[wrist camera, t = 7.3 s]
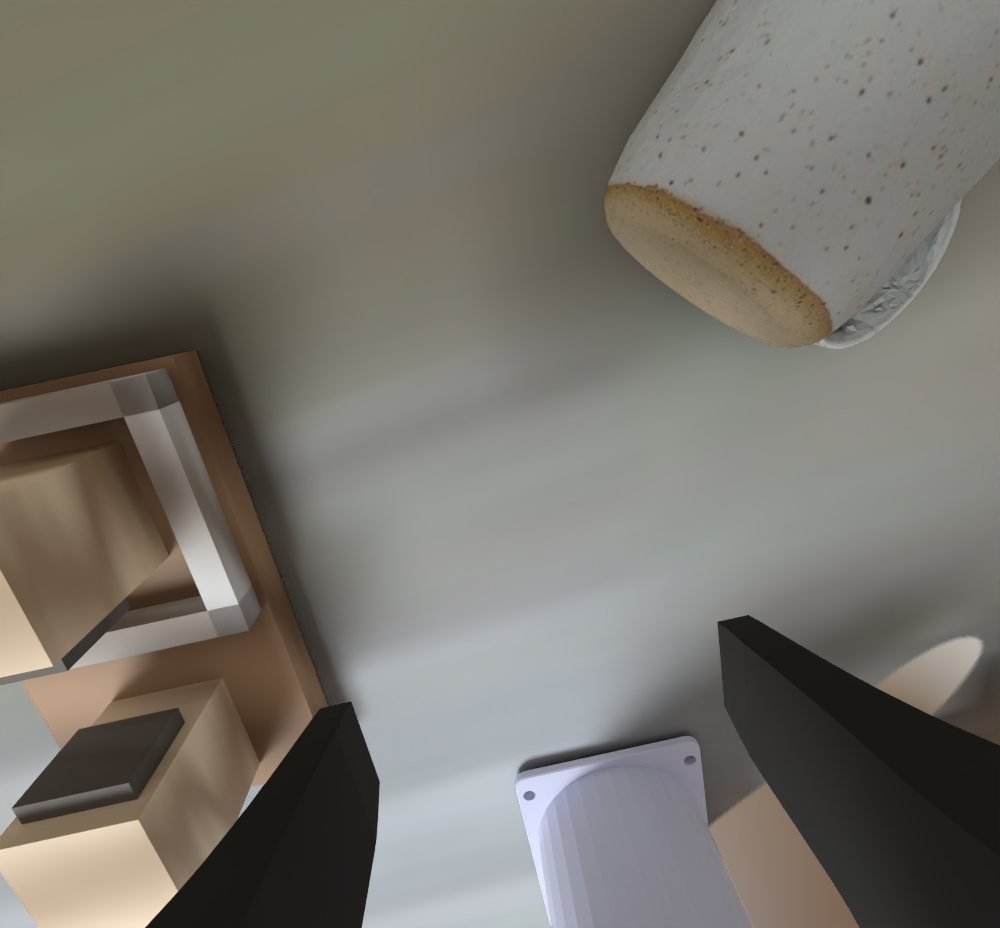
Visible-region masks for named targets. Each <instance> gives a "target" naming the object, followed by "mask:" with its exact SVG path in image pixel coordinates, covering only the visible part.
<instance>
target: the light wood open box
mask: <svg viewBox="0 0 1000 928" xmlns="http://www.w3.org/2000/svg"><path fill="white" fill-rule="evenodd" d="M115 441H119V442H120V444H121V446H122V448H123V451H124V453H125V455H126V458H127V460H128V462H129V465H130V467H131V469H132V472H133V474H134V476H135V478H136V481H137V483H138V485H139V488H140V490H141V492H142V495H143V497H144V499H145V501H146V504H147V506H148V508H149V511H150V513H151V515H152V518H153V520H154V522H155V525H156V527H157V529H158V531H159V534H160V536H161V538H162V541H163V543H164V545H165V548H166V550H167V552H168V554H169V557H168V558H167V559H166V560H165V561H164V562H163V563H162V564H160V565H159V566H158V567H157V568H156V569H155V570H154V571H153V572H152V573H151V574H150V575H149V576H148V577H147V578H146V579H145V580H144V581H143V582H142V583H141V584H139V585H138V586H137V587H136V588H135V589H134V590H133V591H132V592H131V593H130V594H129V595H128V596H127V597H126V600H127V602H128V604H129V606H130V609H129V610H128V611H127V612H126V613H125V614H124V615H123V616H122V617H121V618H120V619H119V620H118V621H117V622H116V623H115V624H114V625H113V626H112V627H111V628H110V629H109V630H108V631H107V632H106V633H105V634H104V635H103V636H102V637H101V638H100V639H99V640H98V641H97V642H96V643H95V644H94V645H93V646H92V647H91V648H90V649H89V650H88V651H87V652H86V653H85V654H84V655H83V656H82V657H81V658H80V659H79V660H78V661H77V662H76V663H75V664H74V665H73V666H72V667H71V668H70V669H69V670H68V671H65V672H61V673H56V674H51V675H46V676H42V677H37V678H32V679H27V680H23V681H21V682H22V684H23V685H24V687H25V689H26V691H27V692H28V694H29V696H30V697H31V699H32V701H33V702H34V704H35V706H36V708H37V709H38V711H39V713H40V714H41V716H42V718H43V720H44V721H45V723H46V725H47V726H48V728H49V730H50V732H51V733H52V735H53V737H54V738H55V740H56V742H57V744H58V745H59V747H60V749H61V751H60V752H59V753H58V754H57V755H56V757H55V758H54V759H53V760H52V761H51V762H50V764H49V765H48V766H47V767H46V768H45V770H44V771H43V772H42V773H41V774H40V775H39V777H38V778H37V779H36V780H35V781H34V783H33V784H32V785H31V786H30V787H29V788H28V790H27V791H26V792H25V793H24V794H23V796H22V797H21V798H20V799H19V800H18V801H17V803H16V804H15V805H14V806H13V807H12V810H13V811H14V813H15V815H16V816H17V817H16V818H15V819H14V821H13V822H12V823H11V824H10V825H9V827H8V828H7V829H6V830H5V831H4V833H3V834H2V835H1V836H0V872H1V874H2V875H3V877H4V878H5V879H6V881H7V882H8V884H9V885H10V887H11V888H12V890H13V891H14V892H15V894H16V895H17V897H18V898H19V900H20V901H21V903H22V904H23V905H24V907H25V908H26V910H27V911H28V913H29V914H30V915H31V917H32V918H33V920H34V921H35V923H36V924H37V926H38V927H39V928H145V927H146V926H147V925H148V924H149V923H150V922H151V920H152V919H153V918H154V917H155V916H156V915H157V914H158V913H159V912H160V911H161V910H162V909H163V907H164V906H165V905H166V904H167V903H168V902H169V901H170V900H171V899H172V898H173V897H174V895H175V894H176V893H177V892H178V891H179V890H180V889H181V887H182V886H183V885H184V884H185V883H186V882H187V881H188V880H189V878H190V877H191V876H192V875H193V874H194V873H195V871H196V870H197V869H198V868H199V867H200V866H201V864H202V863H203V862H204V861H205V860H206V858H207V857H208V856H209V855H210V853H211V852H212V851H213V850H214V848H215V847H216V846H217V845H218V843H219V842H220V841H221V840H222V838H223V837H224V836H225V835H226V833H227V832H228V831H229V830H230V828H231V827H232V826H233V825H234V823H235V822H236V821H237V818H238V816H239V813H240V811H241V808H242V806H243V804H244V801H245V799H246V796H247V794H248V791H249V789H250V787H252V786H257V785H261V784H265V783H266V782H267V780H268V779H269V778H270V776H271V775H272V774H273V772H274V771H275V770H276V768H277V767H278V766H279V764H280V763H281V761H282V760H283V759H284V757H285V756H286V754H287V753H288V752H289V750H290V749H291V748H292V746H293V745H294V743H295V742H296V741H297V739H298V738H299V736H300V735H301V734H302V732H303V731H304V729H305V728H306V727H307V725H308V724H309V722H310V721H311V720H312V718H313V717H314V716H315V714H316V713H317V712H318V710H319V709H320V708H324V707H329V706H328V704H327V701H326V698H325V696H324V693H323V690H322V688H321V685H320V682H319V679H318V677H317V674H316V671H315V669H314V666H313V663H312V661H311V658H310V655H309V653H308V650H307V647H306V645H305V642H304V639H303V637H302V634H301V631H300V629H299V626H298V623H297V621H296V618H295V615H294V613H293V610H292V607H291V604H290V602H289V599H288V596H287V594H286V591H285V588H284V586H283V583H282V580H281V578H280V575H279V572H278V570H277V567H276V564H275V562H274V559H273V556H272V554H271V551H270V548H269V546H268V543H267V540H266V538H265V535H264V532H263V529H262V527H261V524H260V521H259V519H258V516H257V513H256V511H255V508H254V505H253V503H252V500H251V497H250V495H249V492H248V489H247V487H246V484H245V481H244V479H243V476H242V473H241V471H240V468H239V465H238V462H237V460H236V457H235V454H234V452H233V449H232V446H231V444H230V441H229V438H228V436H227V433H226V430H225V428H224V425H223V422H222V420H221V417H220V414H219V412H218V409H217V406H216V404H215V401H214V398H213V396H212V393H211V390H210V387H209V385H208V382H207V379H206V377H205V374H204V371H203V369H202V366H201V363H200V361H199V358H198V355H197V353H196V350H193V351H188V352H183V353H179V354H174V355H169V356H164V357H160V358H155V359H150V360H146V361H141V362H136V363H131V364H127V365H122V366H117V367H113V368H108V369H103V370H98V371H94V372H89V373H84V374H80V375H75V376H70V377H65V378H61V379H56V380H51V381H47V382H42V383H37V384H32V385H28V386H23V387H18V388H14V389H9V390H4V391H0V465H4V464H9V463H14V462H19V461H24V460H28V459H33V458H38V457H43V456H48V455H53V454H57V453H62V452H67V451H72V450H77V449H81V448H86V447H91V446H96V445H101V444H106V443H110V442H115Z"/></svg>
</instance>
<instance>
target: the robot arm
mask: <svg viewBox="0 0 1000 928" xmlns="http://www.w3.org/2000/svg"><path fill="white" fill-rule="evenodd" d="M718 633H719V645H720V656H721V668H722V680H723V691H724V703H725V708H726V710H727V712H728V714H729V716H730V718H731V720H732V722H733V724H734V726H735V728H736V730H737V732H738V734H739V736H740V738H741V740H742V742H743V743H744V745H745V747H746V749H747V751H748V753H749V755H750V757H751V758H752V760H753V762H754V763H755V765H756V766H757V768H758V769H759V771H760V773H761V774H762V776H763V777H764V779H765V780H766V782H767V783H768V785H769V786H770V788H771V789H772V791H773V792H774V794H775V795H776V797H777V798H778V800H779V802H780V803H781V805H782V806H783V808H784V809H785V811H786V812H787V814H788V815H789V817H790V818H791V820H792V821H793V823H794V824H795V826H796V827H797V829H798V830H799V832H800V833H801V835H802V836H803V838H804V839H805V841H806V842H807V844H808V845H809V847H810V848H811V850H812V851H813V853H814V854H815V856H816V857H817V859H818V860H819V862H820V863H821V865H822V866H823V868H824V869H825V871H826V873H827V874H828V876H829V877H830V879H831V880H832V882H833V883H834V885H835V887H836V888H837V890H838V892H839V893H840V895H841V896H842V898H843V900H844V901H845V903H846V904H847V906H848V908H849V909H850V911H851V913H852V915H853V917H854V918H855V920H856V922H857V924H858V926H859V927H860V928H1000V746H999V745H997V744H995V743H992V742H990V741H988V740H985V739H983V738H981V737H979V736H976V735H974V734H972V733H969V732H967V731H965V730H962V729H960V728H958V727H955V726H953V725H951V724H949V723H946V722H944V721H942V720H940V719H938V718H936V717H934V716H931V715H929V714H927V713H925V712H923V711H921V710H919V709H917V708H915V707H913V706H911V705H909V704H907V703H905V702H903V701H901V700H899V699H897V698H895V697H893V696H891V695H889V694H887V693H885V692H883V691H881V690H879V689H877V688H875V687H873V686H872V685H870V684H868V683H866V682H864V681H862V680H860V679H858V678H857V677H855V676H853V675H851V674H849V673H847V672H846V671H844V670H842V669H840V668H839V667H837V666H835V665H833V664H831V663H830V662H828V661H826V660H824V659H823V658H821V657H819V656H817V655H816V654H814V653H812V652H811V651H809V650H807V649H805V648H804V647H802V646H800V645H799V644H797V643H795V642H794V641H792V640H790V639H788V638H787V637H785V636H783V635H782V634H780V633H778V632H777V631H775V630H773V629H772V628H770V627H768V626H767V625H765V624H763V623H761V622H760V621H758V620H756V619H754V618H753V617H751V616H749V615H747V616H742V617H738V618H733V619H729V620H724V621H719V622H718ZM688 756H690V757H688ZM686 757H687V758H686ZM379 784H380V781H379V779H378V776H377V773H376V770H375V767H374V765H373V762H372V759H371V756H370V753H369V751H368V748H367V745H366V742H365V739H364V737H363V734H362V731H361V728H360V725H359V722H358V720H357V717H356V714H355V711H354V708H353V706H352V703H351V702H347V703H342V704H338V705H333V706H329V707H324V708H320V709H319V710H318V712H317V713H316V714H315V716H314V717H313V718H312V720H311V721H310V722H309V724H308V725H307V727H306V728H305V729H304V731H303V732H302V734H301V735H300V736H299V738H298V739H297V741H296V742H295V743H294V745H293V746H292V748H291V749H290V750H289V752H288V753H287V754H286V756H285V757H284V759H283V760H282V761H281V763H280V764H279V766H278V767H277V768H276V770H275V771H274V772H273V774H272V775H271V776H270V778H269V779H268V780H267V782H266V783H265V784H264V786H263V787H262V788H261V790H260V791H259V793H258V794H257V795H256V797H255V798H254V799H253V801H252V802H251V803H250V805H249V806H248V807H247V808H246V810H245V811H244V812H243V813H242V815H241V816H240V817H239V818H238V820H237V821H236V822H235V823H234V825H233V826H232V827H231V828H230V830H229V831H228V832H227V833H226V835H225V836H224V837H223V838H222V840H221V841H220V842H219V843H218V845H217V846H216V847H215V848H214V850H213V851H212V852H211V853H210V855H209V856H208V857H207V858H206V860H205V861H204V862H203V863H202V864H201V866H200V867H199V868H198V869H197V870H196V871H195V873H194V874H193V875H192V876H191V877H190V878H189V880H188V881H187V882H186V883H185V884H184V885H183V886H182V887H181V889H180V890H179V891H178V892H177V893H176V894H175V895H174V897H173V898H172V899H171V900H170V901H169V902H168V903H167V904H166V905H165V906H164V907H163V909H162V910H161V911H160V912H159V913H158V914H157V915H156V916H155V917H154V918H153V919H152V920H151V922H150V923H149V924H148V925H147V926H146V927H145V928H362V922H363V916H364V911H365V905H366V899H367V893H368V888H369V882H370V876H371V870H372V864H373V858H374V851H375V845H376V837H377V823H378V805H379ZM515 787H516V792H517V796H518V800H519V804H520V808H521V812H522V816H523V820H524V824H525V828H526V831H527V835H528V839H529V843H530V847H531V851H532V855H533V859H534V863H535V867H536V871H537V875H538V879H539V883H540V887H541V891H542V895H543V899H544V903H545V907H546V911H547V915H548V918H549V922H550V924H551V928H754V926H753V924H752V922H751V920H750V918H749V915H748V913H747V911H746V909H745V907H744V905H743V902H742V900H741V898H740V896H739V894H738V892H737V890H736V887H735V885H734V883H733V881H732V879H731V876H730V874H729V872H728V870H727V868H726V866H725V863H724V861H723V859H722V857H721V855H720V852H719V850H718V848H717V846H716V844H715V842H714V839H713V837H712V835H711V833H710V831H709V827H708V818H707V809H706V800H705V790H704V781H703V772H702V763H701V753H700V747H699V744H698V743H697V741H696V739H695V738H694V737H691V736H682V737H678V738H673V739H669V740H664V741H660V742H655V743H651V744H646V745H641V746H637V747H632V748H628V749H623V750H619V751H614V752H609V753H605V754H600V755H596V756H591V757H587V758H582V759H578V760H573V761H568V762H564V763H559V764H555V765H550V766H546V767H541V768H536V769H532V770H527V771H523V772H521V773H519V774H518V775H517V776H516V778H515ZM527 791H531V792H527Z"/></svg>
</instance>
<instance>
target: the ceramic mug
mask: <svg viewBox="0 0 1000 928" xmlns="http://www.w3.org/2000/svg"><path fill="white" fill-rule="evenodd" d="M999 159H1000V0H717V1H716V2H715V4H714V5H713V7H712V9H711V10H710V12H709V13H708V15H707V16H706V18H705V19H704V21H703V23H702V24H701V26H700V27H699V29H698V30H697V32H696V34H695V35H694V37H693V39H692V41H691V42H690V44H689V46H688V48H687V49H686V51H685V53H684V54H683V56H682V57H681V59H680V60H679V62H678V64H677V65H676V67H675V68H674V70H673V71H672V73H671V74H670V76H669V77H668V79H667V80H666V82H665V83H664V85H663V86H662V88H661V90H660V91H659V93H658V94H657V96H656V97H655V99H654V100H653V102H652V103H651V105H650V106H649V108H648V110H647V111H646V113H645V114H644V116H643V117H642V119H641V120H640V122H639V123H638V125H637V126H636V128H635V130H634V131H633V133H632V134H631V136H630V137H629V139H628V141H627V144H626V146H625V148H624V150H623V152H622V154H621V156H620V159H619V161H618V163H617V165H616V167H615V169H614V171H613V174H612V176H611V178H610V180H609V182H608V185H607V189H606V193H605V197H604V207H605V214H606V220H607V224H608V226H609V228H610V231H611V232H612V234H613V235H614V236H615V238H616V239H617V240H618V242H619V243H620V244H621V245H622V246H623V247H624V248H625V249H626V250H627V252H628V253H629V254H630V255H631V256H633V257H634V258H635V259H636V260H637V261H638V262H639V263H640V264H641V265H642V266H644V267H645V268H646V269H647V270H648V271H649V272H651V273H652V274H653V275H654V276H656V277H657V278H658V279H659V280H661V281H662V282H663V283H664V284H666V285H667V286H668V287H670V288H671V289H672V290H674V291H675V292H677V293H678V294H679V295H681V296H682V297H684V298H685V299H687V300H688V301H689V302H691V303H692V304H694V305H695V306H697V307H698V308H700V309H701V310H703V311H704V312H706V313H708V314H709V315H711V316H713V317H714V318H716V319H717V320H719V321H721V322H722V323H724V324H726V325H728V326H730V327H731V328H733V329H735V330H737V331H739V332H741V333H743V334H745V335H747V336H749V337H751V338H753V339H756V340H759V341H761V342H764V343H766V344H770V345H774V346H779V347H784V348H795V347H801V346H807V345H811V344H815V345H819V346H823V347H828V348H832V349H843V348H846V347H849V346H853V345H856V344H858V343H860V342H862V341H864V340H866V339H868V338H870V337H871V336H873V335H874V334H876V333H877V332H878V331H880V330H881V329H882V328H884V327H885V326H886V325H888V324H889V323H890V322H891V321H892V320H893V319H894V318H895V317H896V316H898V315H899V314H900V313H901V312H902V311H903V310H904V309H905V308H906V307H907V306H908V304H909V303H910V302H911V301H912V300H913V299H914V298H915V297H916V296H917V294H918V293H919V292H920V291H921V289H922V288H923V286H924V285H925V283H926V282H927V281H928V279H929V278H930V276H931V275H932V273H933V272H934V271H935V269H936V268H937V266H938V264H939V262H940V260H941V258H942V257H943V255H944V253H945V251H946V249H947V247H948V245H949V243H950V240H951V238H952V236H953V233H954V230H955V227H956V224H957V220H958V217H959V214H960V209H961V205H962V198H963V197H964V196H965V195H966V194H967V193H968V192H969V190H970V189H971V188H972V187H973V186H974V185H975V184H976V183H977V182H978V181H979V180H980V179H981V178H982V177H983V176H984V175H985V174H986V173H987V172H988V171H989V169H990V168H991V167H992V166H993V165H994V164H995V163H996V162H997V161H998V160H999Z"/></svg>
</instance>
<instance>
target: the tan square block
mask: <svg viewBox="0 0 1000 928" xmlns="http://www.w3.org/2000/svg"><path fill="white" fill-rule="evenodd" d="M168 557H169V554H168V552H167V550H166V548H165V545H164V543H163V541H162V538H161V536H160V534H159V531H158V529H157V527H156V525H155V522H154V520H153V518H152V515H151V513H150V511H149V508H148V506H147V504H146V501H145V499H144V497H143V495H142V492H141V490H140V488H139V485H138V483H137V481H136V478H135V476H134V474H133V472H132V469H131V467H130V465H129V462H128V460H127V458H126V455H125V453H124V451H123V448H122V446H121V444H120V442H119V441H115V442H110V443H106V444H101V445H96V446H91V447H86V448H81V449H77V450H72V451H67V452H62V453H57V454H53V455H48V456H43V457H38V458H33V459H28V460H24V461H19V462H14V463H9V464H4V465H0V685H4V684H9V683H13V682H18V681H23V680H27V679H32V678H37V677H42V676H46V675H51V674H56V673H61V672H65V671H68V670H69V669H70V668H71V667H72V666H73V665H74V664H75V663H76V662H77V661H78V660H79V659H80V658H81V657H82V656H83V655H84V654H85V653H86V652H87V651H88V650H89V649H90V648H91V647H92V646H93V645H94V644H95V643H96V642H97V641H98V640H99V639H100V638H101V637H102V636H103V635H104V634H105V633H106V632H107V631H108V630H109V629H110V628H111V627H112V626H113V625H114V624H115V623H116V622H117V621H118V620H119V619H120V618H121V617H122V616H123V615H124V614H125V613H126V612H127V611H128V610H129V609H130V606H129V604H128V602H127V600H126V597H127V596H128V595H129V594H130V593H131V592H132V591H133V590H134V589H135V588H136V587H137V586H138V585H139V584H141V583H142V582H143V581H144V580H145V579H146V578H147V577H148V576H149V575H150V574H151V573H152V572H153V571H154V570H155V569H156V568H157V567H158V566H159V565H160V564H162V563H163V562H164V561H165V560H166V559H167V558H168Z"/></svg>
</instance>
